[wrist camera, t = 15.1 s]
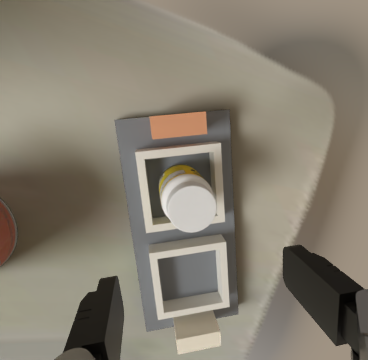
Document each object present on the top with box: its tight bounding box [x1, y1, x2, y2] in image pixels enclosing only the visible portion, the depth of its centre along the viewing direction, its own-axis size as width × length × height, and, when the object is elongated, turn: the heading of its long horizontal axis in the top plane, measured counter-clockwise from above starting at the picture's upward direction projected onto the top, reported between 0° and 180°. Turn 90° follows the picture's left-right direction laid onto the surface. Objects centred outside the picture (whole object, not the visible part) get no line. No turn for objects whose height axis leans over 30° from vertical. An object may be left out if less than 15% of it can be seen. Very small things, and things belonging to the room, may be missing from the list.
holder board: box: [115, 110, 238, 354], centre depth 28 cm, size 26×12×6 cm, turn 5°
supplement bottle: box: [159, 164, 217, 233], centre depth 24 cm, size 5×5×8 cm
